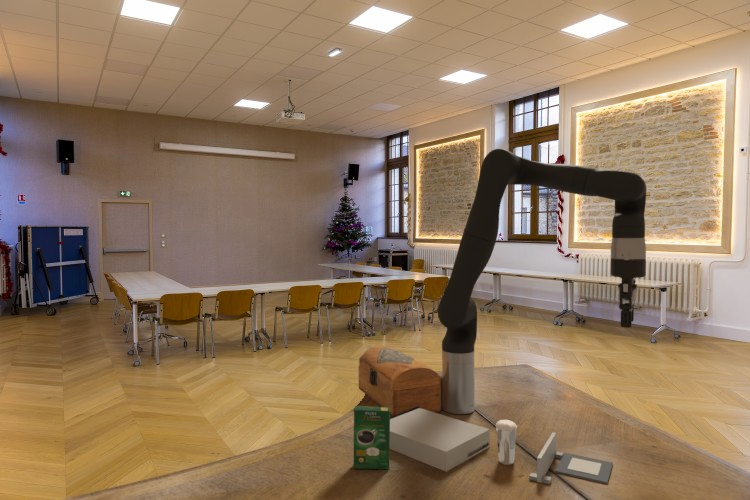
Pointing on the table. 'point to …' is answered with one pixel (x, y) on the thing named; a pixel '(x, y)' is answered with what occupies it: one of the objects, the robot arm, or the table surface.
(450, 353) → the robot arm
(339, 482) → the table surface
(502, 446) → the milkshake
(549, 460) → the divider wall
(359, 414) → the coffee box
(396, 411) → the wooden box
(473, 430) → the disc drive
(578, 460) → the mat
